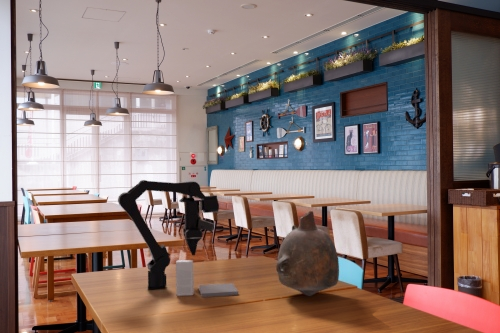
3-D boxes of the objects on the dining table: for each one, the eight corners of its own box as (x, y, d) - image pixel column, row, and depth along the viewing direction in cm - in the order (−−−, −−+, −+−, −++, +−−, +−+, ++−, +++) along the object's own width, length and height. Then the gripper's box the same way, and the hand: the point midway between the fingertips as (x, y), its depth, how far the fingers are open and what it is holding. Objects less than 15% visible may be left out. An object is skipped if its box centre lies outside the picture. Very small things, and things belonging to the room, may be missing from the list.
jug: (295, 285, 189) (294, 206, 189) (349, 291, 178) (348, 208, 178) (264, 300, 168) (263, 212, 168) (323, 308, 157) (322, 214, 157)
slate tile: (201, 297, 173) (201, 293, 173) (198, 288, 186) (198, 285, 186) (238, 294, 176) (238, 291, 176) (232, 286, 188) (232, 283, 188)
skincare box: (193, 292, 180) (193, 259, 180) (193, 295, 175) (192, 261, 175) (177, 293, 179) (176, 260, 179) (176, 296, 175) (175, 262, 175)
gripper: (215, 214, 185) (216, 256, 185) (209, 210, 204) (210, 248, 204) (185, 215, 183) (186, 257, 183) (182, 211, 202) (183, 249, 201)
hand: (192, 253), depth 193 cm, fingers open, 9 cm apart
